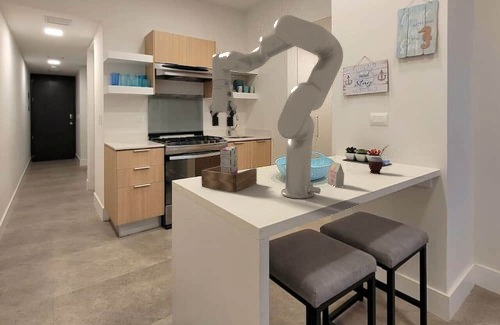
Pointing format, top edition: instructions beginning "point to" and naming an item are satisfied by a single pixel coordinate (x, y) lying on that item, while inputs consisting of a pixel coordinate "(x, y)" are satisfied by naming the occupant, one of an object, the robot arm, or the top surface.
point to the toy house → (336, 175)
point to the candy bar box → (229, 160)
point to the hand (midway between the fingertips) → (222, 126)
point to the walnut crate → (228, 179)
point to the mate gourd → (376, 163)
